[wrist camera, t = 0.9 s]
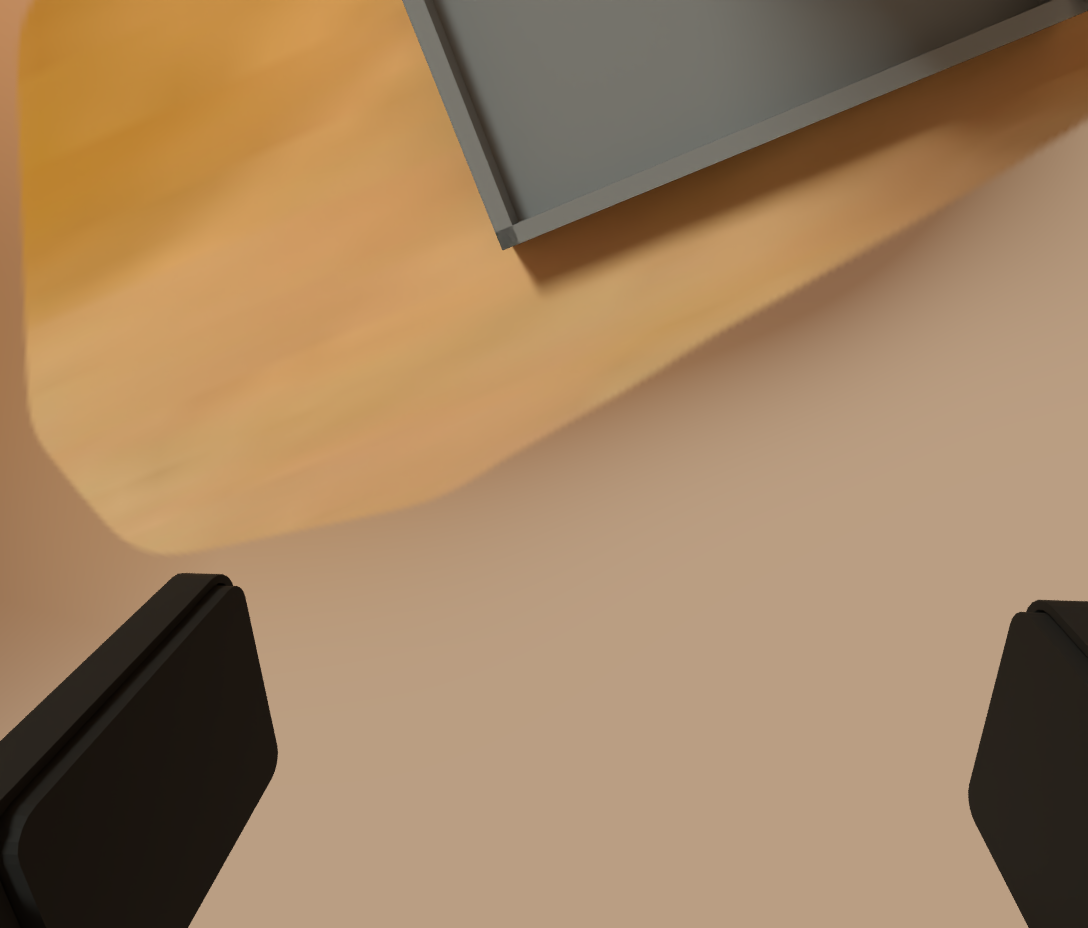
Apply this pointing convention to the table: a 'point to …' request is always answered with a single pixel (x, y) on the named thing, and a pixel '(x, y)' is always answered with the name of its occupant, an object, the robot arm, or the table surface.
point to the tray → (672, 83)
